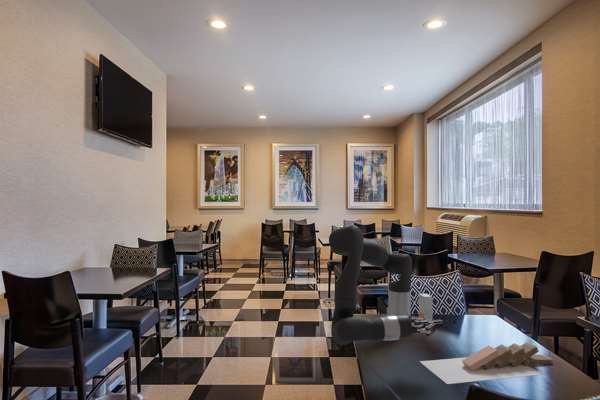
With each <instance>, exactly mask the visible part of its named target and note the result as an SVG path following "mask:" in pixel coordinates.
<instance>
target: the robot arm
mask: <svg viewBox="0 0 600 400" xmlns="http://www.w3.org/2000/svg"><path fill="white" fill-rule="evenodd" d="M328 244H329V247H330V248H331V250H332V251H333V252H335V254H338V255H340V256H345V257H347V260H346V263H345V265H344V267H343V269H342V271H341V273H340V274H339V277H338V279H337V281H336V285H335V290H334V310H333V314H332V319H331V327H330V331H331V332H330V333H331V334H330V335H331V337H332V340H333V341H334V343H336V344H337V345H340V346H345V345H348V344H351V343H352V342H356V341H366V342H380V341H387V342H388V341H389V342H391V341H399V340H400V341H401V340H402V341H403V340H410V339H411V338H412V337H413V334H416V335H419V334H422V333H424V334H425V337H430V336H431V335H433V334H434V333H435V332H436V329H443V328H444V327H445V322H444V321H443V320H442V319H433V320H430V319H427V320H426V318H421V317H419V316H413V315H411V287H412V271H413V259H412V257H411V256H410V255H409V254H408V253H397V252H389V251H388V249H387V248H386V247H385V246H384V245H383V244H381V243H379V242H377V241H375V240H370V239H365V238H364V235H363V232H362V230H361V228H360V227H359V226H357V225H349V226H345V227H341V228H337V229H335V230H333V231H332V232H331V233H330V234H329V236H328ZM361 262H364V263H366V264H368V265H370V266H374V267H377V268H381V269H383V271H385V272H387V273H389V274H392V275H399V279H397V280H395V281H394V280H393V281H391V282H389V283H388V306H387V307H386V315H383V316H376V317H375V316H374V317H373V316H372V317H365V318H364V317H354V314H355V312H356V309H357V297H358V295H357V293H358V281H359V280H358V278H359V274H360V273H359V272H360V267H361Z"/></svg>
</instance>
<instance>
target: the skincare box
mask: <svg viewBox="0 0 600 400" xmlns="http://www.w3.org/2000/svg"><path fill="white" fill-rule="evenodd" d="M418 307H419V308H418V317H421V318H426V320H427V319H430V320H434V319H433V296H432V295H431V294H428V293H418Z"/></svg>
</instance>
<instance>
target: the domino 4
mask: <svg viewBox="0 0 600 400" xmlns="http://www.w3.org/2000/svg"><path fill="white" fill-rule="evenodd" d="M520 364H522V365H524V366H529V367H533V366H542V365H543V366H544V365H545V366H546V365H553V364H554V359H553V358H552V357H548V356H546V355H544V354H534V355H533V356H531V357H529V358H528V359H526V360H524V361H523V362H521V363H520Z"/></svg>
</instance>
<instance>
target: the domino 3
mask: <svg viewBox="0 0 600 400" xmlns="http://www.w3.org/2000/svg"><path fill="white" fill-rule="evenodd" d="M520 346H521V347H523V348H524V350H525V354H523V355H522V356H520V357H518V358H517V359H515V360H513V361H512V362H510V363H508V365H510V366H512V367H514V366H516V365H518V364H519V363H521V362H523V361H524V360H526V359H528V358H529V357H531V356H533V355H537V353H539V352H540V351H539V349H538V346H537V345H535V344H532V343H531V342H528V341H526V342H524V343H523V344H521V345H520Z"/></svg>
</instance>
